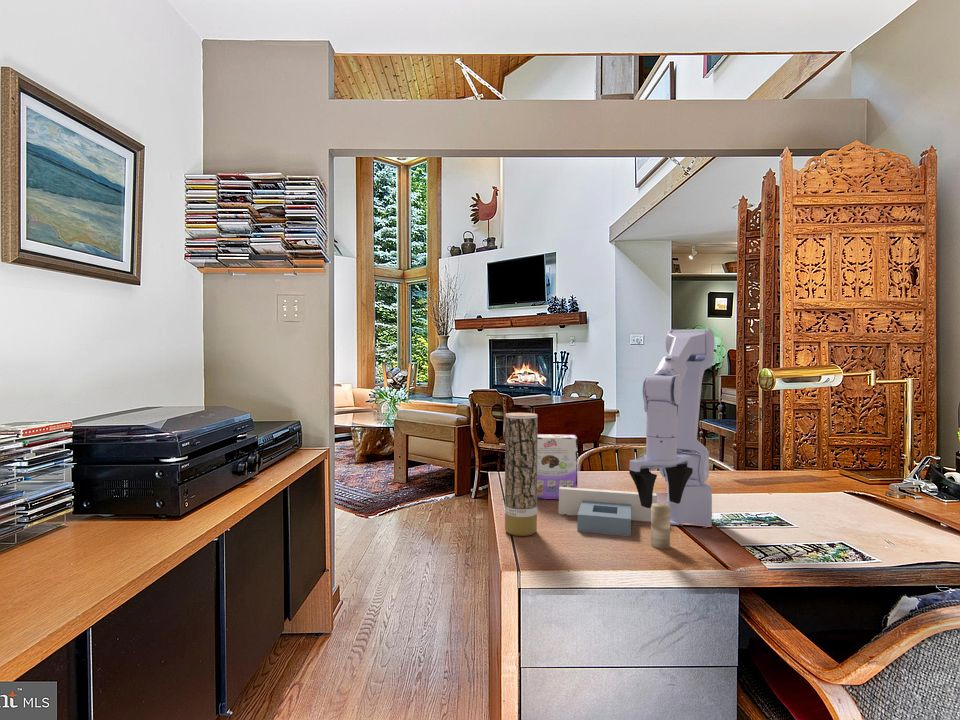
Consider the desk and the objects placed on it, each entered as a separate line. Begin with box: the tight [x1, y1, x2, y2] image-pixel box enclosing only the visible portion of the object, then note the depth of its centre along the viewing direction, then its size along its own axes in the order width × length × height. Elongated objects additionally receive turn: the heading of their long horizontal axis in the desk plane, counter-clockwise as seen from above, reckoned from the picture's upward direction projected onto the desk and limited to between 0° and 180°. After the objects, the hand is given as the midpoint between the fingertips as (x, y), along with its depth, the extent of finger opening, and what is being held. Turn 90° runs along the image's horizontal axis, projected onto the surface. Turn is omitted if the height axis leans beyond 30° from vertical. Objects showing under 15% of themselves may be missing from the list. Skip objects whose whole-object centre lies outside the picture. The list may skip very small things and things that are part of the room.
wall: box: [558, 487, 658, 523], centre depth 126 cm, size 22×2×6 cm, turn 75°
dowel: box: [650, 502, 671, 550], centre depth 107 cm, size 4×4×8 cm
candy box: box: [537, 433, 578, 500], centre depth 143 cm, size 14×6×16 cm, turn 84°
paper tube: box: [504, 412, 539, 537], centre depth 115 cm, size 7×7×25 cm
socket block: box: [576, 501, 632, 537], centre depth 120 cm, size 11×11×4 cm
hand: (660, 504), depth 107 cm, fingers open, 7 cm apart
